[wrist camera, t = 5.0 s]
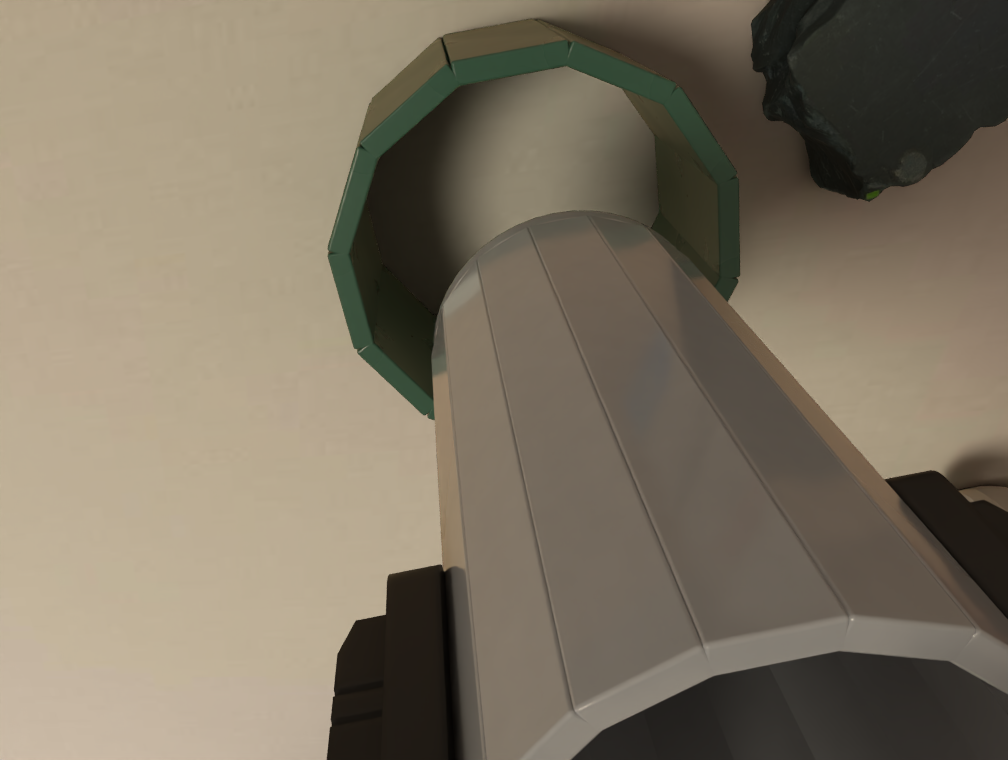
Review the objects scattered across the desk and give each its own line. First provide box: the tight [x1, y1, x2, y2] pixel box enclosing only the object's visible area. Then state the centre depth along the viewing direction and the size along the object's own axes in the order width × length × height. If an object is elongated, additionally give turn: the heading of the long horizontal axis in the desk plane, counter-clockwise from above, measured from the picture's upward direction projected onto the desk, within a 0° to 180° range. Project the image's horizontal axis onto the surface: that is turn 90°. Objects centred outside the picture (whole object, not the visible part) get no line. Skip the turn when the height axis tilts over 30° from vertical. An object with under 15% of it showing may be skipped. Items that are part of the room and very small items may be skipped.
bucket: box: [328, 19, 740, 420], centre depth 25 cm, size 11×11×6 cm
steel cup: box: [431, 211, 1008, 760], centre depth 12 cm, size 6×6×11 cm
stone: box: [751, 0, 1008, 202], centre depth 24 cm, size 8×12×3 cm
